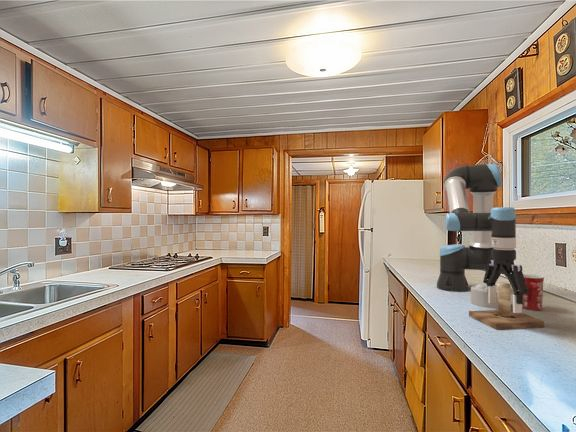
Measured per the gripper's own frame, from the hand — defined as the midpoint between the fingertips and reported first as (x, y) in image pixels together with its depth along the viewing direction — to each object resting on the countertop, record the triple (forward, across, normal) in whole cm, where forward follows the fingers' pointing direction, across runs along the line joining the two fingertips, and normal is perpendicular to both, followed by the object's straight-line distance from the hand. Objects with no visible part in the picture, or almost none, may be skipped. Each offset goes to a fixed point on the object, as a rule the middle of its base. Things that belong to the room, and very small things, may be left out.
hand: (504, 307), depth 115 cm
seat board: (+5, 0, 0) cm, 5 cm away
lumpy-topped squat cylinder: (+5, -20, +9) cm, 22 cm away
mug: (+5, -12, +22) cm, 26 cm away
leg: (+5, 0, 0) cm, 5 cm away
